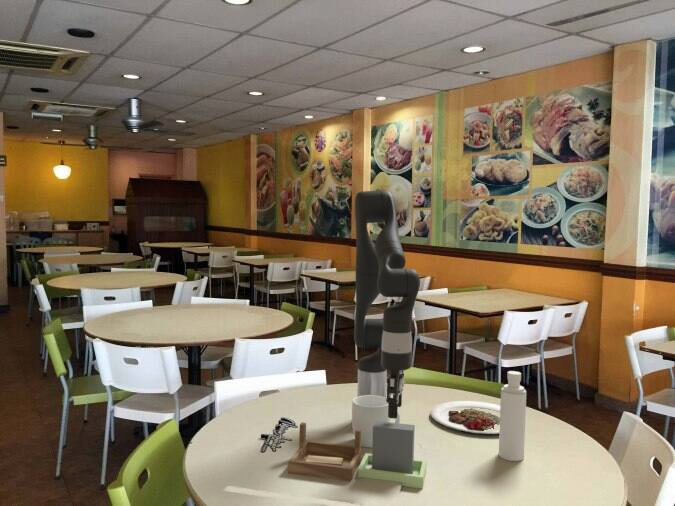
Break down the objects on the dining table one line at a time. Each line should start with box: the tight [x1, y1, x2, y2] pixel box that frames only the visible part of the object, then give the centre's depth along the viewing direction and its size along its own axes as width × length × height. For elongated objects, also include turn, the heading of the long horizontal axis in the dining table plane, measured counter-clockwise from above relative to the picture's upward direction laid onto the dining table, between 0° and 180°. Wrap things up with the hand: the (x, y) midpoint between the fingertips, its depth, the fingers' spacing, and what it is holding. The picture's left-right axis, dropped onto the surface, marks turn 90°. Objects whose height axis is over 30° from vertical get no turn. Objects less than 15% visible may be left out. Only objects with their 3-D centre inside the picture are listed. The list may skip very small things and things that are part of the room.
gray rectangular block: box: [371, 421, 415, 474], centre depth 140 cm, size 4×10×12 cm, turn 77°
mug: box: [351, 395, 401, 449], centre depth 160 cm, size 15×11×13 cm
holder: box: [357, 452, 427, 490], centre depth 141 cm, size 10×16×3 cm, turn 76°
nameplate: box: [259, 416, 299, 454], centre depth 165 cm, size 27×2×10 cm
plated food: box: [430, 400, 500, 435], centre depth 182 cm, size 30×30×3 cm
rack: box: [288, 422, 364, 482], centre depth 144 cm, size 14×16×10 cm
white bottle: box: [498, 370, 527, 462], centre depth 153 cm, size 7×7×25 cm
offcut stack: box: [305, 455, 344, 466], centre depth 140 cm, size 4×10×3 cm, turn 76°
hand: (394, 411), depth 140 cm, fingers open, 8 cm apart
